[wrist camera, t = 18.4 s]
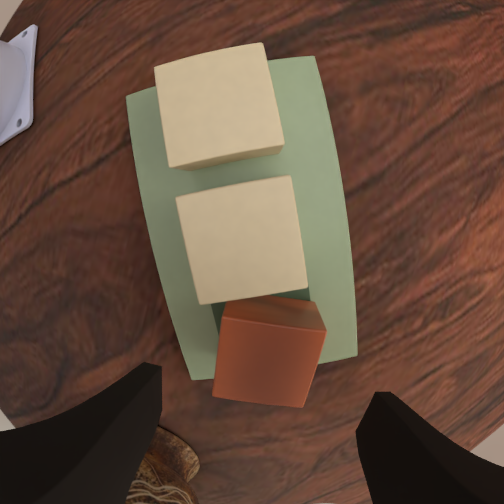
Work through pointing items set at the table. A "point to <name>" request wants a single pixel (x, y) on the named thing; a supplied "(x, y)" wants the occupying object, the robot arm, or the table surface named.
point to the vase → (165, 472)
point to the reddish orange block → (268, 350)
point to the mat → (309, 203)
